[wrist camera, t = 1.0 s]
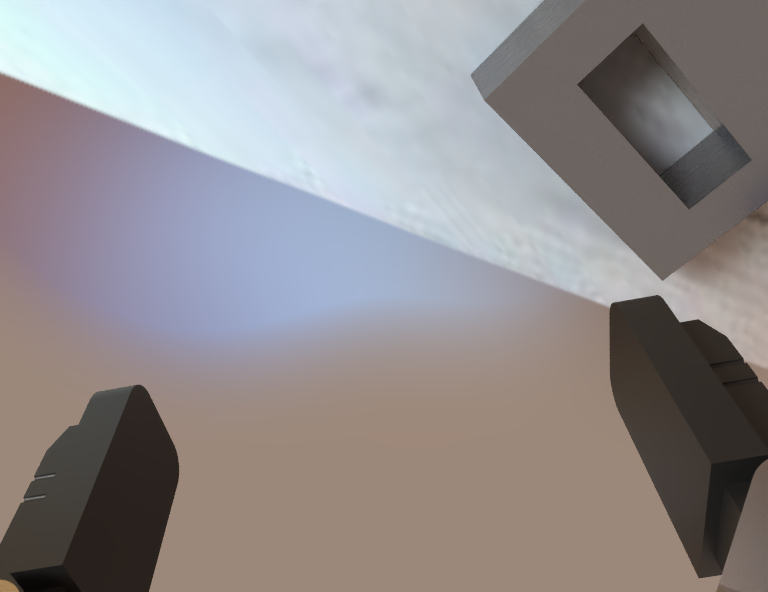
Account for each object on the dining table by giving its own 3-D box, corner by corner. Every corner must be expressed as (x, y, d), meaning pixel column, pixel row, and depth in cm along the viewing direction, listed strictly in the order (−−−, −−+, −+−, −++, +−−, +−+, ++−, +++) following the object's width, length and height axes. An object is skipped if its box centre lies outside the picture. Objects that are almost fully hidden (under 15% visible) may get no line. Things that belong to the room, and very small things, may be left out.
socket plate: (902, -362, 26) (985, -393, 23) (1032, -72, 32) (1114, -63, 28) (470, 75, 34) (484, 100, 31) (635, 244, 40) (662, 280, 36)
